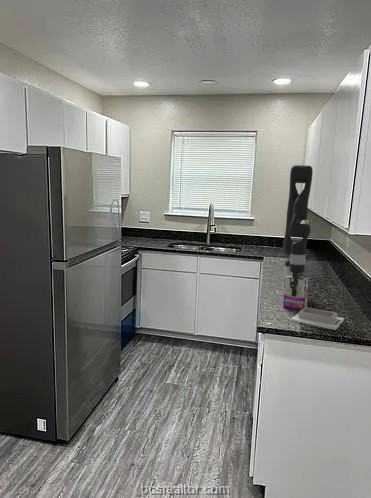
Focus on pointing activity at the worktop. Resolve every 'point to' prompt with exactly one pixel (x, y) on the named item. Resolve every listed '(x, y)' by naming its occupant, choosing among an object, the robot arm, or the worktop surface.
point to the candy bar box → (301, 293)
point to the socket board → (318, 318)
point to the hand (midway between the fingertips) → (295, 294)
